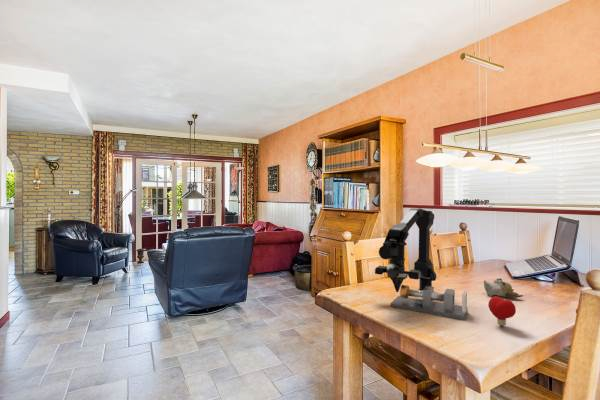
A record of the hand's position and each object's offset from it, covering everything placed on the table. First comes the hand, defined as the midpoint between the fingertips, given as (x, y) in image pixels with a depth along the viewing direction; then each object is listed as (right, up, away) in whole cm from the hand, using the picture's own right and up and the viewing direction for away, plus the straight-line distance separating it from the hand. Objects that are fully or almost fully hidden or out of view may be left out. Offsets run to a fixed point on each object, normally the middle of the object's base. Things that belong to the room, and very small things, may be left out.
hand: (397, 291), depth 143 cm
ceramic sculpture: (+52, -5, +10) cm, 53 cm away
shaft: (+9, -2, -6) cm, 11 cm away
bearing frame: (+11, -5, -7) cm, 14 cm away
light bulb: (+30, -6, -25) cm, 40 cm away
